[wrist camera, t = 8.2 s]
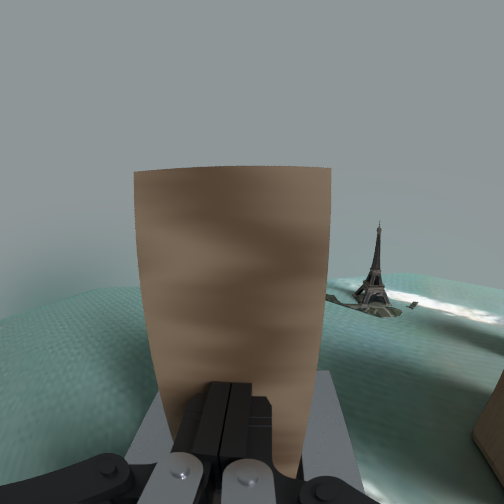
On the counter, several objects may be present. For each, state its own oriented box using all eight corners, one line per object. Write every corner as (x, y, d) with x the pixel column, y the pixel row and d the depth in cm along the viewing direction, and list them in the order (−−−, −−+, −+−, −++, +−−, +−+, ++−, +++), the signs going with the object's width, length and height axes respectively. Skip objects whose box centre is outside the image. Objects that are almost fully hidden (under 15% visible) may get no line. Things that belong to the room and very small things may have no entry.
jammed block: (186, 482, 11) (134, 172, 8) (204, 417, 17) (185, 178, 14) (293, 488, 11) (331, 168, 8) (288, 421, 17) (303, 177, 14)
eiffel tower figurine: (314, 300, 44) (319, 217, 41) (346, 285, 51) (351, 214, 48) (399, 327, 33) (414, 229, 30) (418, 305, 40) (429, 225, 37)
